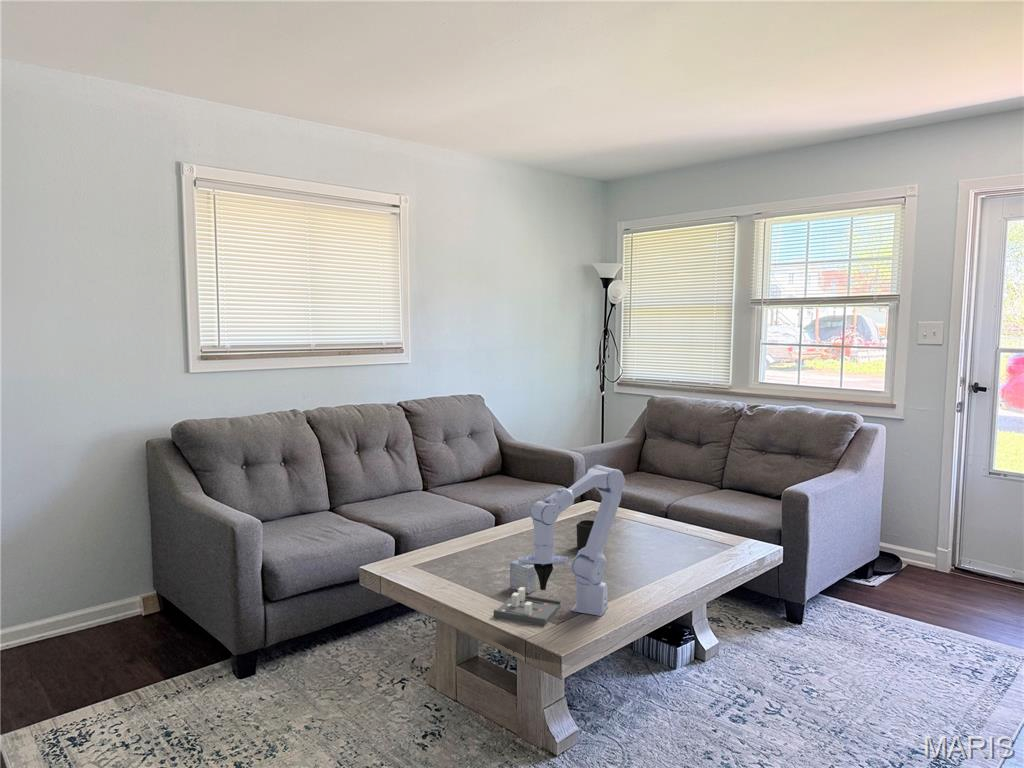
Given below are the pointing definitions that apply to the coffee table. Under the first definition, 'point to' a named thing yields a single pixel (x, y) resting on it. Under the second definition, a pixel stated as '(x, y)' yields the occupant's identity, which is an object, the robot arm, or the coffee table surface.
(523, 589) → the breaker
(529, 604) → the block
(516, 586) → the medicine box
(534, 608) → the breaker panel
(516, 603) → the block
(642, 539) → the coffee table surface
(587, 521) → the pen holder
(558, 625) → the coffee table surface
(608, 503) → the robot arm
